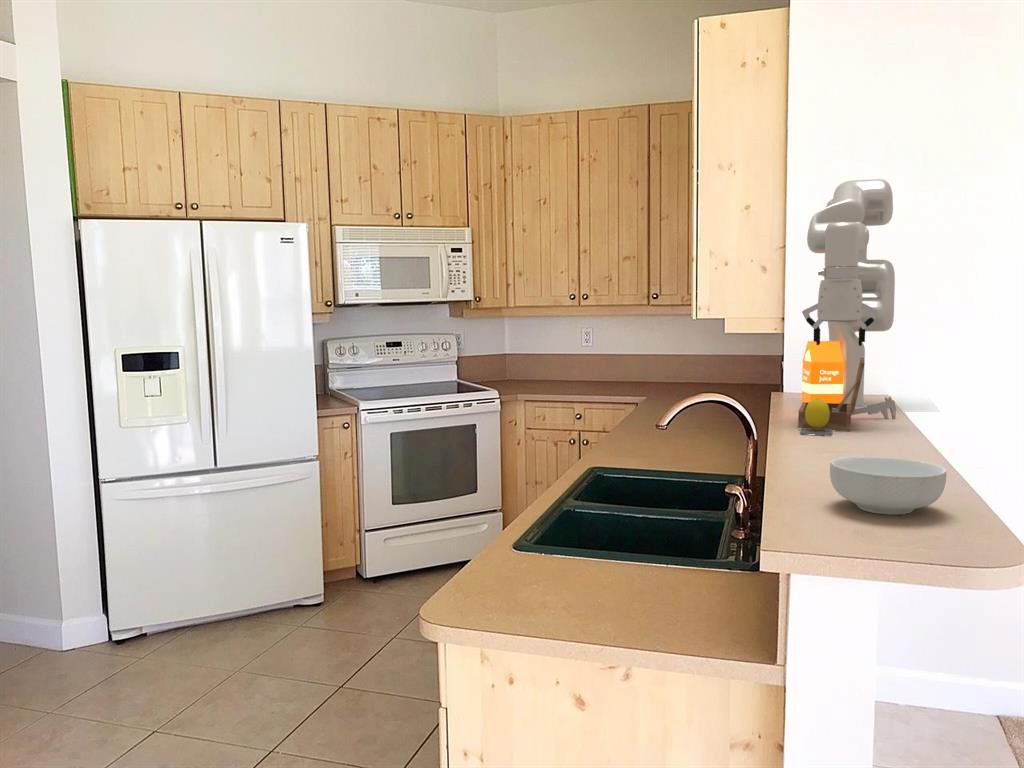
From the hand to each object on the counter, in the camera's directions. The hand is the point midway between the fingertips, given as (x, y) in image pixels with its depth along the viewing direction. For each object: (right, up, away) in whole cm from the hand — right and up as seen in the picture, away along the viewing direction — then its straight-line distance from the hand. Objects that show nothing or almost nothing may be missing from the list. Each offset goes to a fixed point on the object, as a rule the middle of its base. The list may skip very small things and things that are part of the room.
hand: (838, 344), depth 215 cm
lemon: (-7, -21, -5) cm, 22 cm away
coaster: (-7, -21, -5) cm, 23 cm away
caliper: (+11, -19, +17) cm, 28 cm away
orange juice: (+5, -18, +28) cm, 34 cm away
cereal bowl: (-21, -29, -77) cm, 85 cm away
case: (+1, -20, +7) cm, 21 cm away
